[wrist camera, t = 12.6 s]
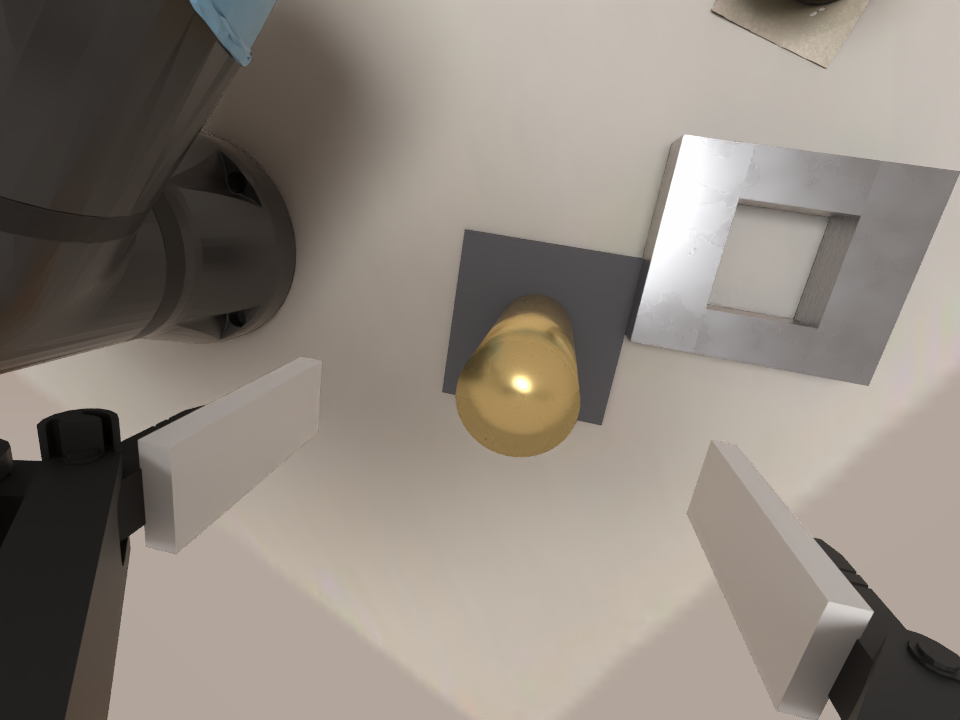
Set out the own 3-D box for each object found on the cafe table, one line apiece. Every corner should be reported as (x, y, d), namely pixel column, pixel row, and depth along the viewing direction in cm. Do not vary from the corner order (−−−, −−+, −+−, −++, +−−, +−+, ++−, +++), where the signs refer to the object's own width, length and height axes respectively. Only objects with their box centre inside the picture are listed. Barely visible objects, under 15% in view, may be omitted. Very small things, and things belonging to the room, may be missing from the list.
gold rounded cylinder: (492, 358, 34) (448, 442, 20) (505, 288, 32) (465, 328, 19) (564, 372, 33) (565, 468, 20) (579, 301, 32) (593, 353, 18)
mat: (443, 390, 35) (442, 392, 35) (466, 229, 32) (464, 229, 32) (600, 423, 34) (601, 425, 34) (642, 258, 30) (643, 259, 30)
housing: (624, 331, 32) (630, 341, 29) (671, 144, 28) (683, 134, 26) (839, 371, 30) (868, 385, 27) (918, 177, 27) (960, 171, 24)
